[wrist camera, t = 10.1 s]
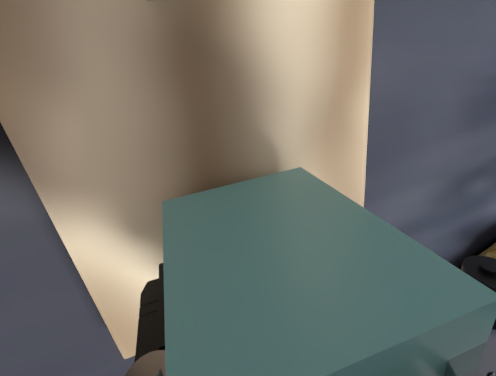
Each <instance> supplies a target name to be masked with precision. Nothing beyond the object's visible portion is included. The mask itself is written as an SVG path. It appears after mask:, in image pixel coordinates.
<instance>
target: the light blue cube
mask: <svg viewBox="0 0 496 376" xmlns="http://www.w3.org/2000/svg"><path fill="white" fill-rule="evenodd" d="M162 220H163V270H164V319H165V369H166V376H444V373H445V369H446V365H447V362H448V360H450V359H452V358H454V357H456V356H458V355H460V354H462V353H464V352H466V351H468V350H471V349H473V348H475V347H477V346H479V345H481V344H483V343H485V342H487V341H488V338H489V335H490V333H491V330H492V327H493V324H494V322H495V319H496V292H494V291H493V290H491V289H490V288H488V287H486V286H485V285H483V284H482V283H480V282H479V281H477V280H476V279H474V278H472V277H471V276H469V275H468V274H466V273H465V272H463V271H462V270H460V269H458V268H457V267H455V266H454V265H452V264H451V263H449V262H448V261H446V260H444V259H443V258H441V257H440V256H438V255H437V254H435V253H434V252H432V251H430V250H429V249H427V248H426V247H424V246H423V245H421V244H420V243H418V242H416V241H415V240H413V239H412V238H410V237H409V236H407V235H406V234H404V233H402V232H401V231H399V230H398V229H396V228H395V227H393V226H392V225H390V224H388V223H387V222H385V221H384V220H382V219H381V218H379V217H378V216H376V215H374V214H373V213H371V212H370V211H368V210H367V209H365V208H364V207H362V206H360V205H359V204H357V203H356V202H354V201H353V200H351V199H350V198H348V197H346V196H345V195H343V194H342V193H340V192H339V191H337V190H336V189H334V188H332V187H331V186H329V185H328V184H326V183H325V182H323V181H322V180H320V179H318V178H317V177H315V176H314V175H312V174H311V173H309V172H308V171H306V170H305V169H303V168H301V167H299V168H295V169H290V170H286V171H282V172H278V173H274V174H270V175H266V176H262V177H258V178H254V179H250V180H246V181H242V182H238V183H234V184H230V185H226V186H222V187H218V188H214V189H210V190H206V191H202V192H198V193H194V194H190V195H186V196H182V197H178V198H174V199H170V200H166V201H162Z"/></svg>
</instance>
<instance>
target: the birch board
mask: <svg viewBox="0 0 496 376" xmlns="http://www.w3.org/2000/svg"><path fill="white" fill-rule="evenodd" d="M373 17H374V0H151V1H147V0H0V122H1V124H2V126H3V128H4V130H5V132H6V134H7V136H8V138H9V140H10V142H11V143H12V145H13V147H14V149H15V151H16V153H17V155H18V157H19V159H20V161H21V163H22V164H23V166H24V168H25V170H26V172H27V174H28V176H29V178H30V180H31V182H32V184H33V186H34V187H35V189H36V191H37V193H38V195H39V197H40V199H41V201H42V203H43V205H44V207H45V208H46V210H47V212H48V214H49V216H50V218H51V220H52V222H53V224H54V226H55V228H56V230H57V231H58V233H59V235H60V237H61V239H62V241H63V243H64V245H65V247H66V249H67V251H68V253H69V254H70V256H71V258H72V260H73V262H74V264H75V266H76V268H77V270H78V272H79V274H80V275H81V277H82V279H83V281H84V283H85V285H86V287H87V289H88V291H89V293H90V295H91V297H92V298H93V300H94V302H95V304H96V306H97V308H98V310H99V312H100V314H101V316H102V318H103V319H104V321H105V323H106V325H107V327H108V329H109V331H110V333H111V335H112V337H113V339H114V341H115V342H116V344H117V346H118V348H119V350H120V352H121V354H122V356H123V358H124V359H127V358H129V357H132V356H135V354H136V343H137V331H138V320H139V308H140V297H141V292H142V291H143V289H144V287H145V285H146V283H147V282H148V281H151V280H154V279H158V278H159V264H161V263H163V220H162V201H166V200H170V199H174V198H178V197H182V196H186V195H190V194H194V193H198V192H202V191H206V190H210V189H214V188H218V187H222V186H226V185H230V184H234V183H238V182H242V181H246V180H250V179H254V178H258V177H262V176H266V175H270V174H274V173H278V172H282V171H286V170H290V169H295V168H299V167H301V168H303V169H305V170H306V171H308V172H309V173H311V174H312V175H314V176H315V177H317V178H318V179H320V180H322V181H323V182H325V183H326V184H328V185H329V186H331V187H332V188H334V189H336V190H337V191H339V192H340V193H342V194H343V195H345V196H346V197H348V198H350V199H351V200H353V201H354V202H356V203H357V204H359V205H360V206H362V207H364V193H365V173H366V154H367V134H368V114H369V95H370V75H371V56H372V36H373Z"/></svg>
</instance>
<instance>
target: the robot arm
mask: <svg viewBox="0 0 496 376" xmlns="http://www.w3.org/2000/svg"><path fill="white" fill-rule="evenodd" d="M461 270H462V271H463V272H465V273H466V274H468V275H469V276H471V277H472V278H474V279H476V280H477V281H479V282H480V283H482V284H483V285H485V286H486V287H488V288H490V289H491V290H493V291H494V292H496V259H495V258H491V257H487V256H469V257H467V258H465V259H464V260H463V262H462V266H461ZM125 376H166V369H165V319H164V270H163V263H161V264H159V278H158V279H154V280H151V281H148V282H147V283H146V285H145V287H144V289H143V291H142V292H141V297H140V308H139V320H138V331H137V343H136V354H135V362H134V364H133V365H132V366H131V367H130V369H129V370H128V372H127V373H126V375H125ZM444 376H496V319H495V322H494V324H493V327H492V330H491V333H490V335H489V338H488V341H487V342H485V343H483V344H481V345H479V346H477V347H475V348H473V349H471V350H468V351H466V352H464V353H462V354H460V355H458V356H456V357H454V358H452V359H450V360H448V362H447V365H446V369H445V373H444Z"/></svg>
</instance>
